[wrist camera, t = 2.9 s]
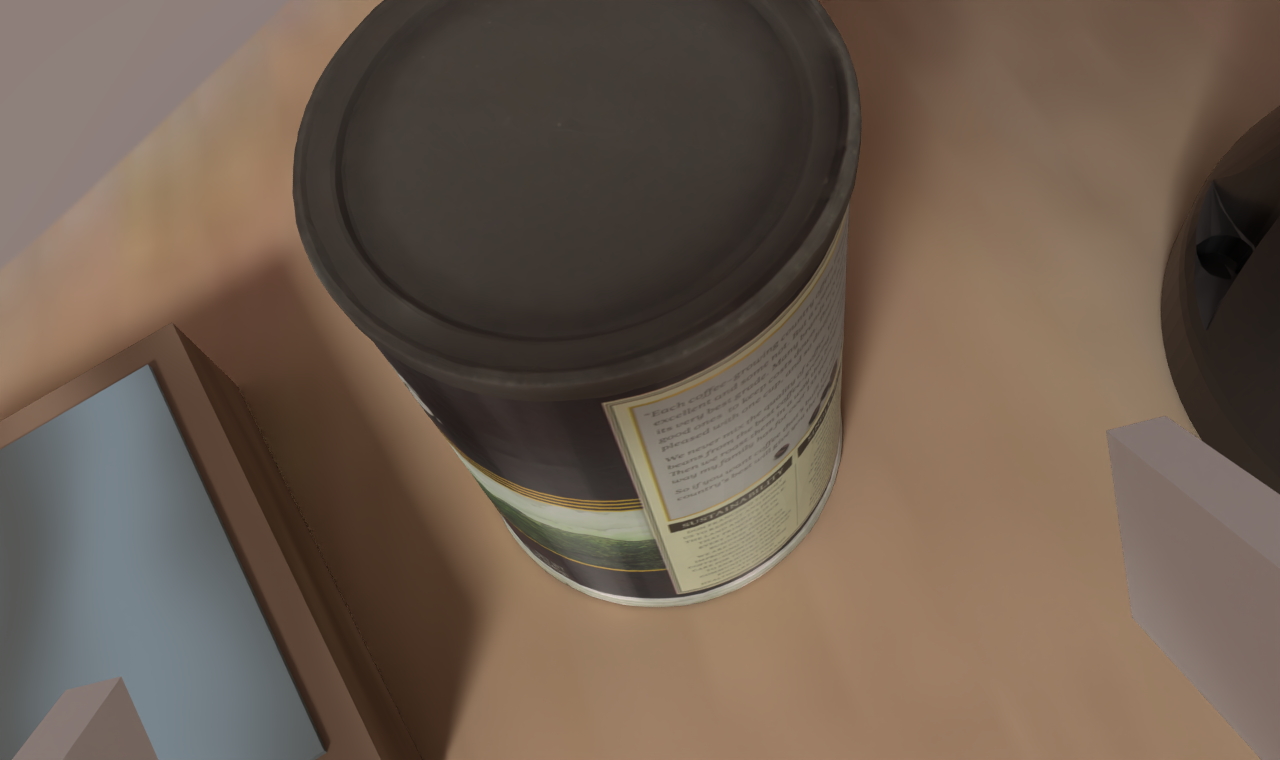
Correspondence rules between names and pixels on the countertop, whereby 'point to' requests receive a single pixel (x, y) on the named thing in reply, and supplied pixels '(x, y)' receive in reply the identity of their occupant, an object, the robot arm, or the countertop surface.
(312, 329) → the countertop surface
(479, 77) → the coffee can
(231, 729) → the walnut tray
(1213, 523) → the robot arm
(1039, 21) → the countertop surface
